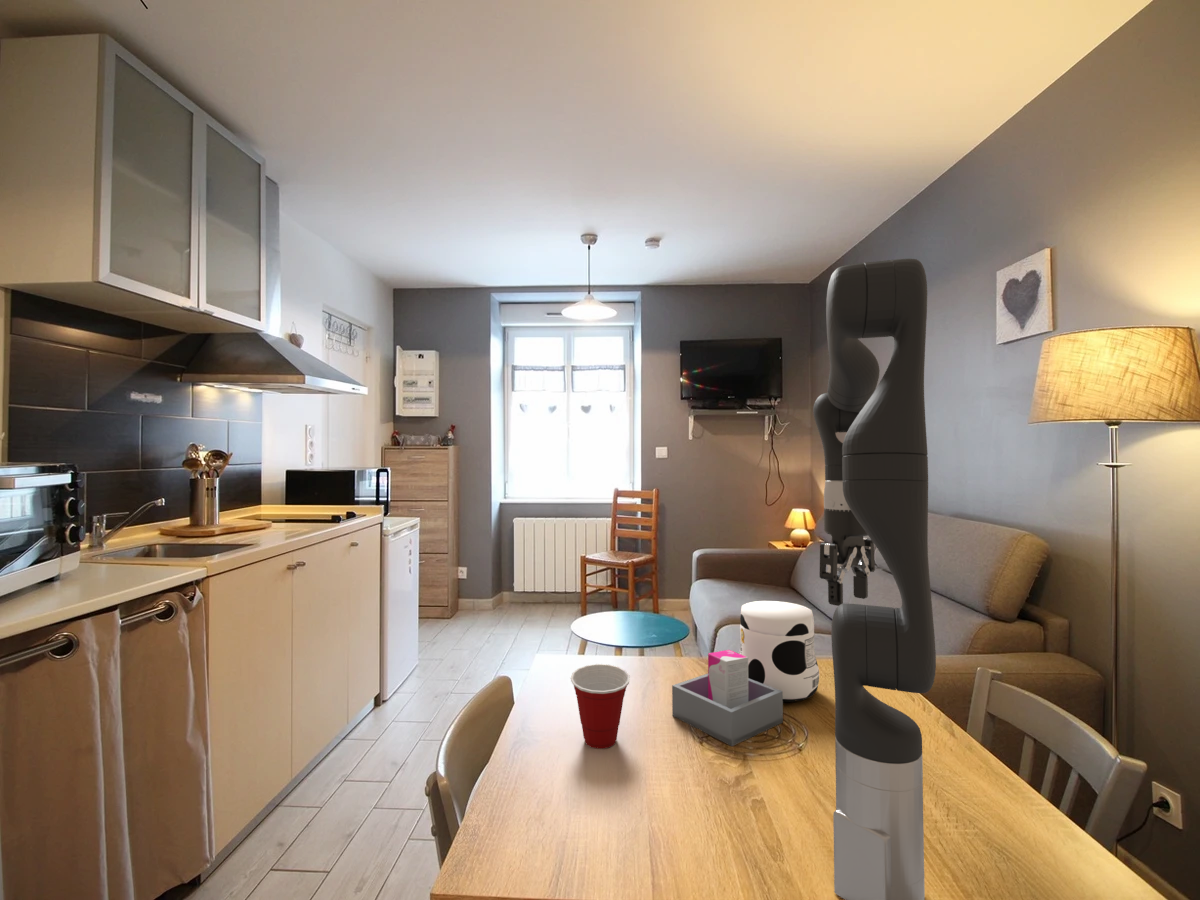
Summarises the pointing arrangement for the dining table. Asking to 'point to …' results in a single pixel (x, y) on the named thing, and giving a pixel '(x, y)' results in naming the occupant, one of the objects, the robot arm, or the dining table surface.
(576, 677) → the plastic cup
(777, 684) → the milk container
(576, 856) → the dining table surface
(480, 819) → the dining table surface
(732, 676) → the supplement box
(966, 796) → the dining table surface
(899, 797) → the robot arm
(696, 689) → the box
